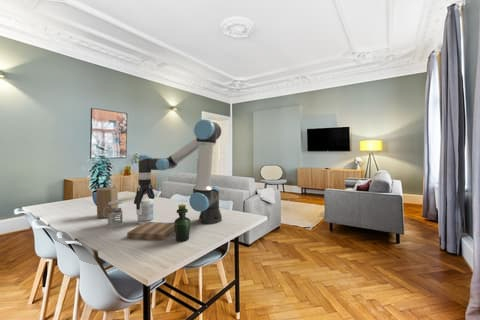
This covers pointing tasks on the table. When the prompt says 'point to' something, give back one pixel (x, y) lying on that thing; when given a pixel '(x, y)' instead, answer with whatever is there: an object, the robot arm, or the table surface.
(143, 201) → the supplement tub
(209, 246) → the table surface
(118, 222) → the french press
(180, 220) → the potion bottle
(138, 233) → the walnut base
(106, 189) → the block
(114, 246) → the table surface
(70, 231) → the table surface
